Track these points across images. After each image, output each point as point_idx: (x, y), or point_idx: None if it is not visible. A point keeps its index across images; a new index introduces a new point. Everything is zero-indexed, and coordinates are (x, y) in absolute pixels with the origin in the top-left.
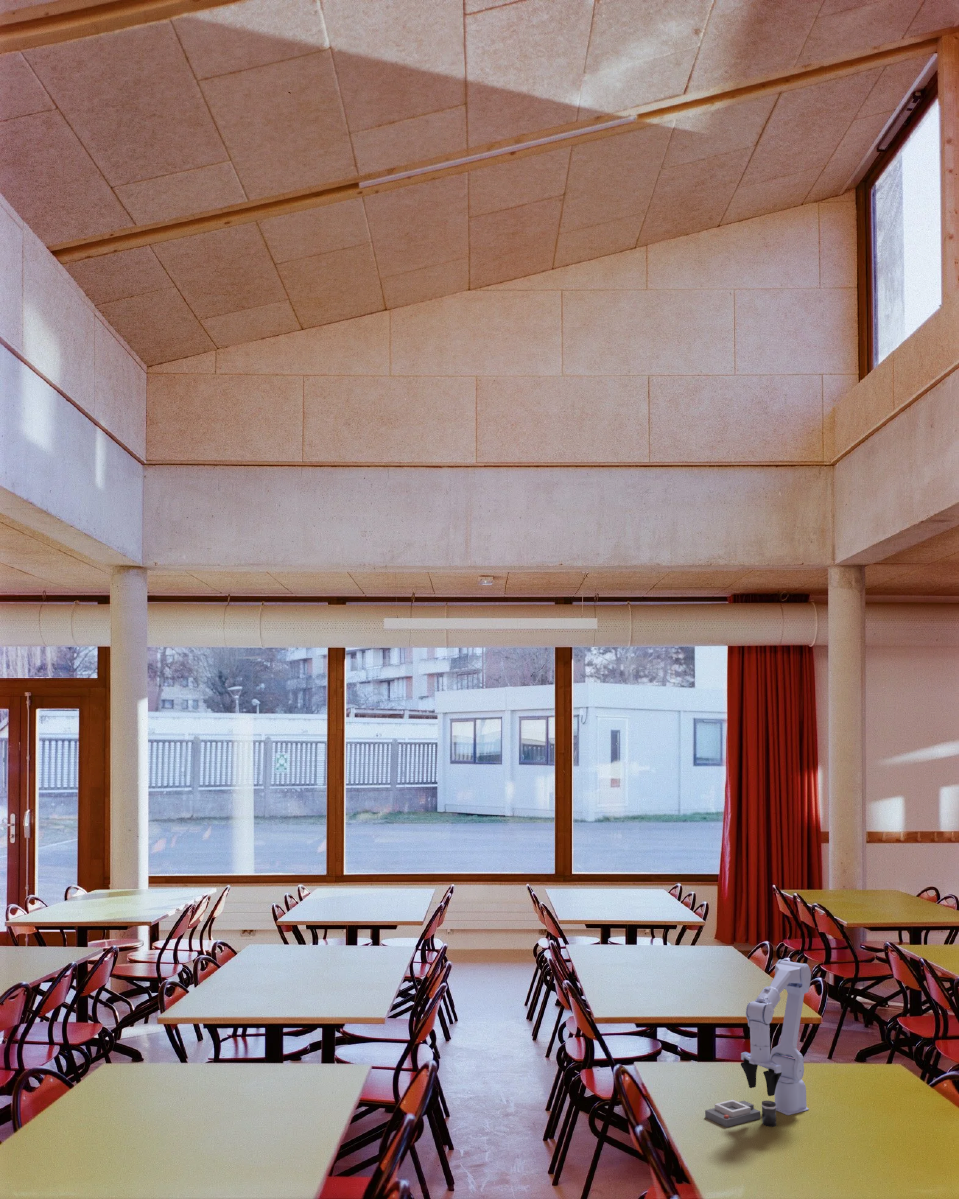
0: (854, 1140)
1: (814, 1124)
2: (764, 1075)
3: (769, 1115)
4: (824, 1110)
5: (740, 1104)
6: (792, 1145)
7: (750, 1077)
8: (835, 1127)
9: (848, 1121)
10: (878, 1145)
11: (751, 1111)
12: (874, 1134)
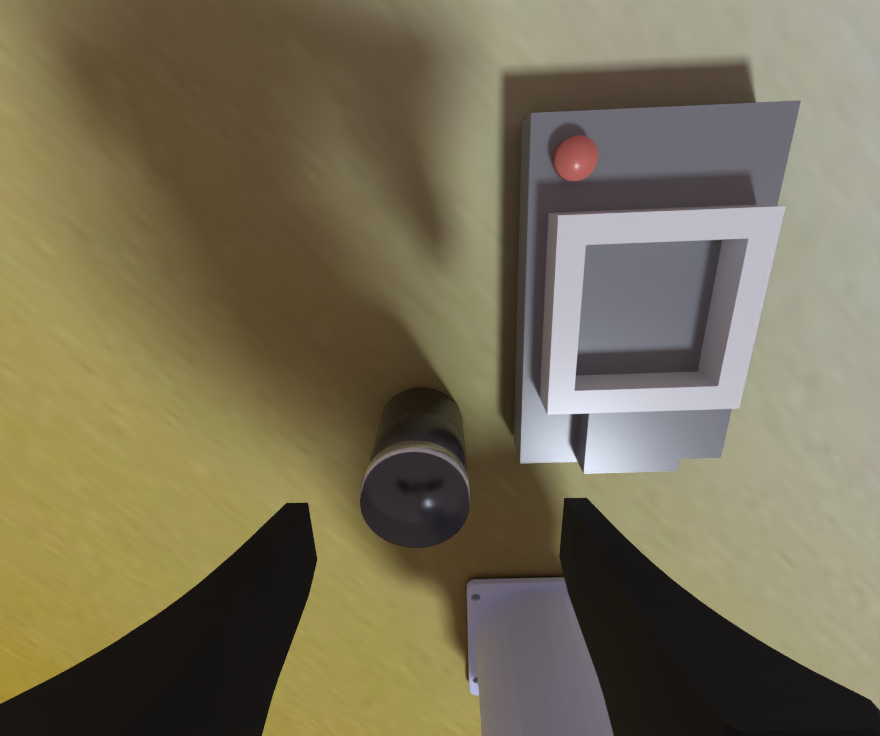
0: (98, 618)
1: (325, 605)
2: (147, 695)
3: (381, 434)
4: (438, 727)
5: (633, 391)
6: (107, 324)
7: (606, 596)
8: None
9: (295, 722)
10: (23, 655)
11: (552, 416)
12: None
